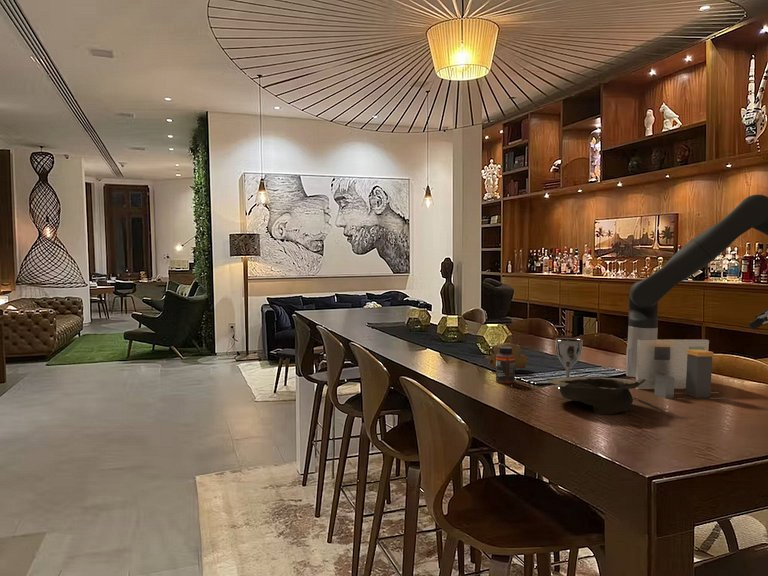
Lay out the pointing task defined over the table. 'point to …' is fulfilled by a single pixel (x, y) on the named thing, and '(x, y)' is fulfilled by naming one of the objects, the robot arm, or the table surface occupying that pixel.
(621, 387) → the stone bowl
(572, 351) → the wine glass
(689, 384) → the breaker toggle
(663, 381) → the white upright board
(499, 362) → the supplement bottle
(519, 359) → the wooden carving
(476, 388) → the table surface
